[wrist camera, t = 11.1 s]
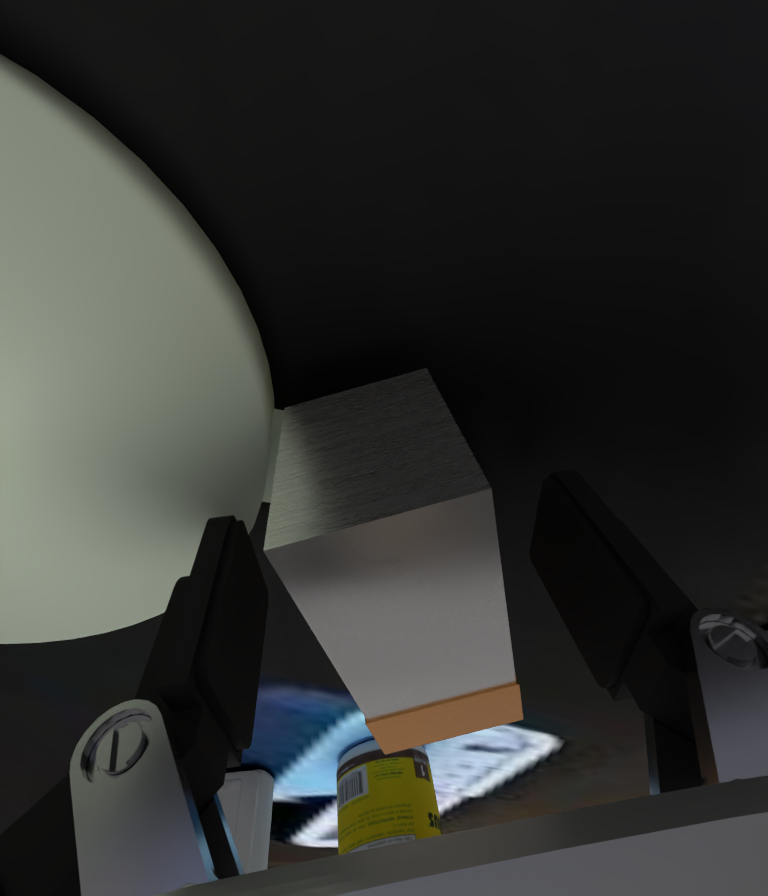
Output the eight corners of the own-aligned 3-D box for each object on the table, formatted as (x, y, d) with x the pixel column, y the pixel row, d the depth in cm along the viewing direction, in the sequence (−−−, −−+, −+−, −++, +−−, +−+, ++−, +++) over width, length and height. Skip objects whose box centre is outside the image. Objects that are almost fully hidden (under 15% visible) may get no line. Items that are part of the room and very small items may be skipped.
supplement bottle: (422, 766, 27) (469, 1033, 19) (337, 778, 27) (345, 1060, 18) (430, 726, 24) (490, 1023, 16) (334, 739, 24) (342, 1056, 15)
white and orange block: (286, 383, 11) (259, 554, 6) (416, 345, 11) (496, 489, 6) (364, 567, 15) (384, 754, 10) (457, 542, 15) (523, 719, 10)
